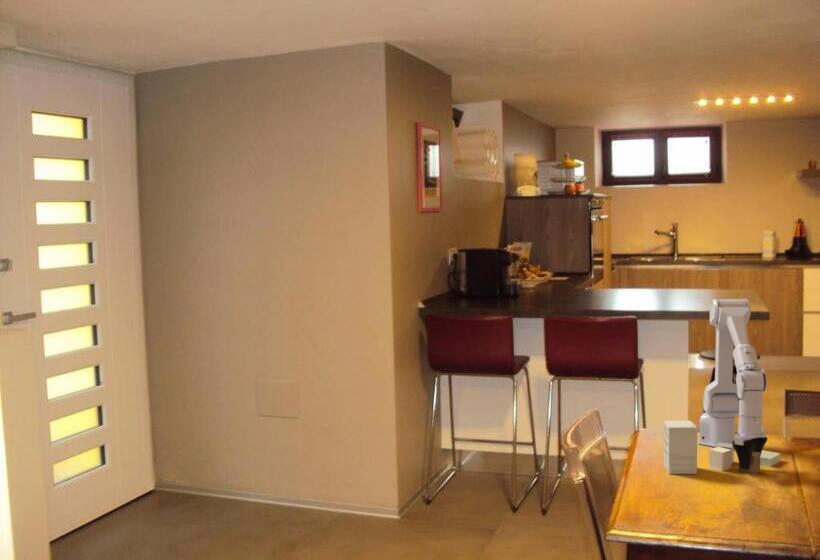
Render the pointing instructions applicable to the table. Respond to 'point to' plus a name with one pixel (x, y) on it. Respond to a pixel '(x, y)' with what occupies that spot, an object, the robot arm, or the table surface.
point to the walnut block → (752, 464)
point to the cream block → (720, 458)
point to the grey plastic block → (727, 446)
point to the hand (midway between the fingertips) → (749, 466)
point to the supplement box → (680, 447)
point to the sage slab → (769, 458)
